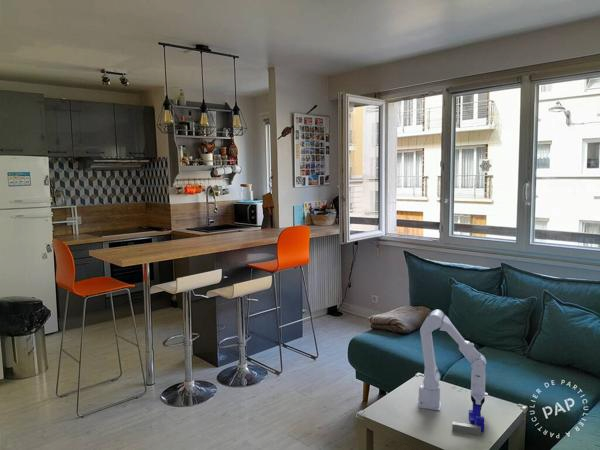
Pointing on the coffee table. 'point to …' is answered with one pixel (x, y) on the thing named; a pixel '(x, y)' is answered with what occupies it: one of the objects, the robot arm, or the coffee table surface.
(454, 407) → the coffee table surface
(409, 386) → the coffee table surface
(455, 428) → the socket strip
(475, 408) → the cable clip
